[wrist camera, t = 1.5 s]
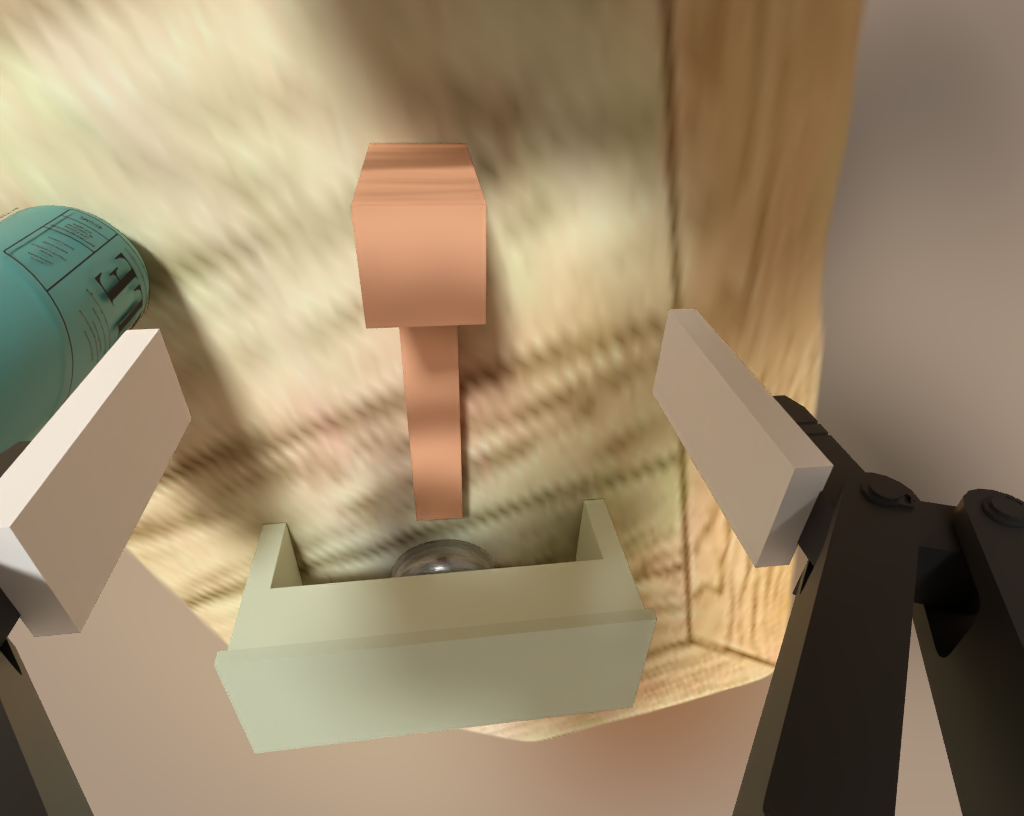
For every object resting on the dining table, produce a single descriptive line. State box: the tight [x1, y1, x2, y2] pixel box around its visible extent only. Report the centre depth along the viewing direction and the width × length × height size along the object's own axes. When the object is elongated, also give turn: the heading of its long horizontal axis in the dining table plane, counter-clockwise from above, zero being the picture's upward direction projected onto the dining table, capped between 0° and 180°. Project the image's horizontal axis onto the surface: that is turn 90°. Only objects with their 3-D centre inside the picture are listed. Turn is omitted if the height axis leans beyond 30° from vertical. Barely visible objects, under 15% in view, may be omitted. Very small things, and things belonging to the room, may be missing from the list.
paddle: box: [351, 143, 486, 521], centre depth 30 cm, size 22×4×10 cm, turn 178°
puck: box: [391, 540, 494, 578], centre depth 45 cm, size 8×8×3 cm
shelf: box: [214, 499, 657, 753], centre depth 40 cm, size 10×25×10 cm, turn 88°
